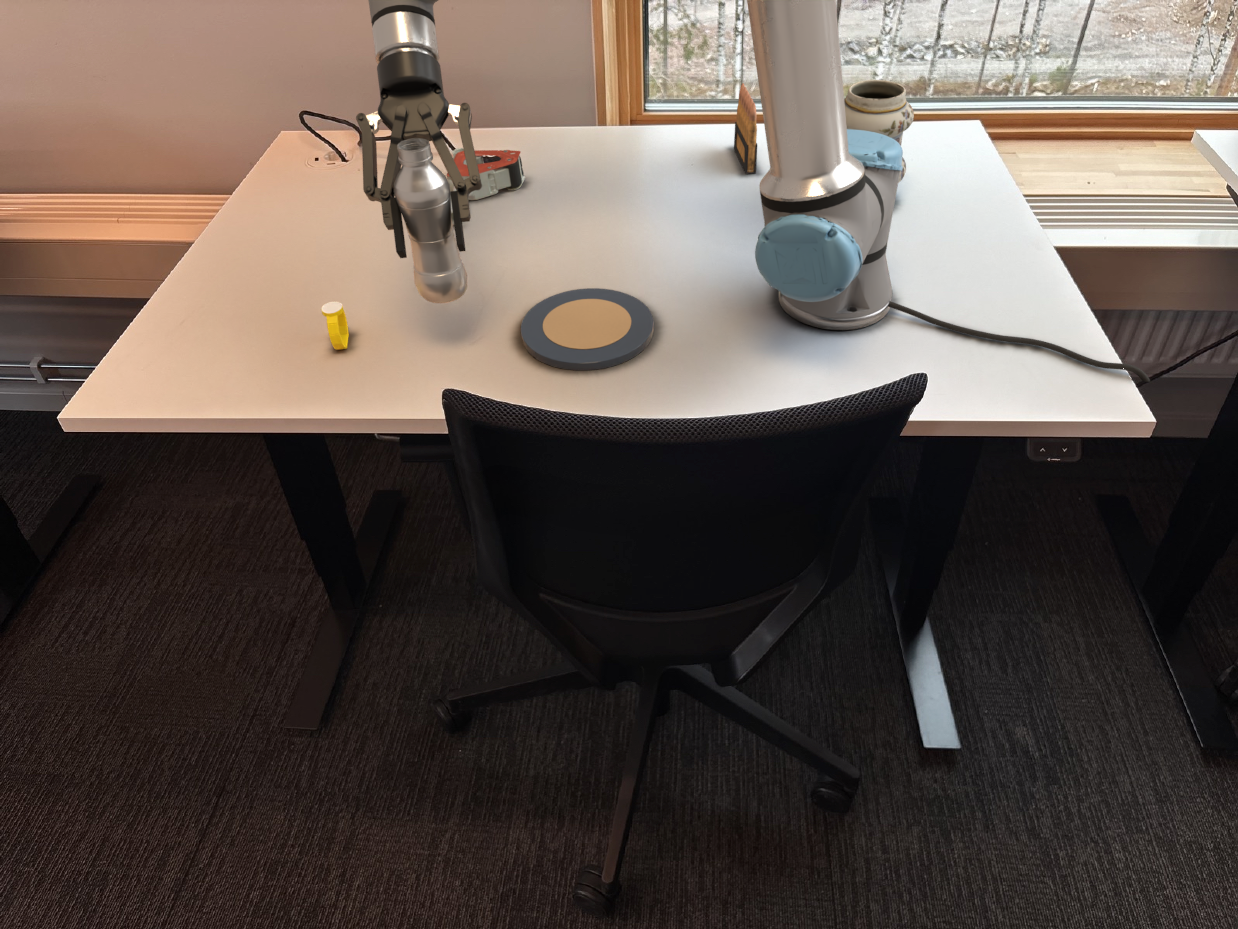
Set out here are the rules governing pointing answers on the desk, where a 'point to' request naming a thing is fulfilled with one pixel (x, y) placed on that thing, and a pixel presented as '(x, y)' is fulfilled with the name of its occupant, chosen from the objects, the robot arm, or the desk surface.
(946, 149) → the desk surface
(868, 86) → the apothecary jar
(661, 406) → the desk surface
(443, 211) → the silver metal bottle
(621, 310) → the plate
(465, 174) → the tape dispenser
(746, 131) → the ammunition clip
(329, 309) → the watch
